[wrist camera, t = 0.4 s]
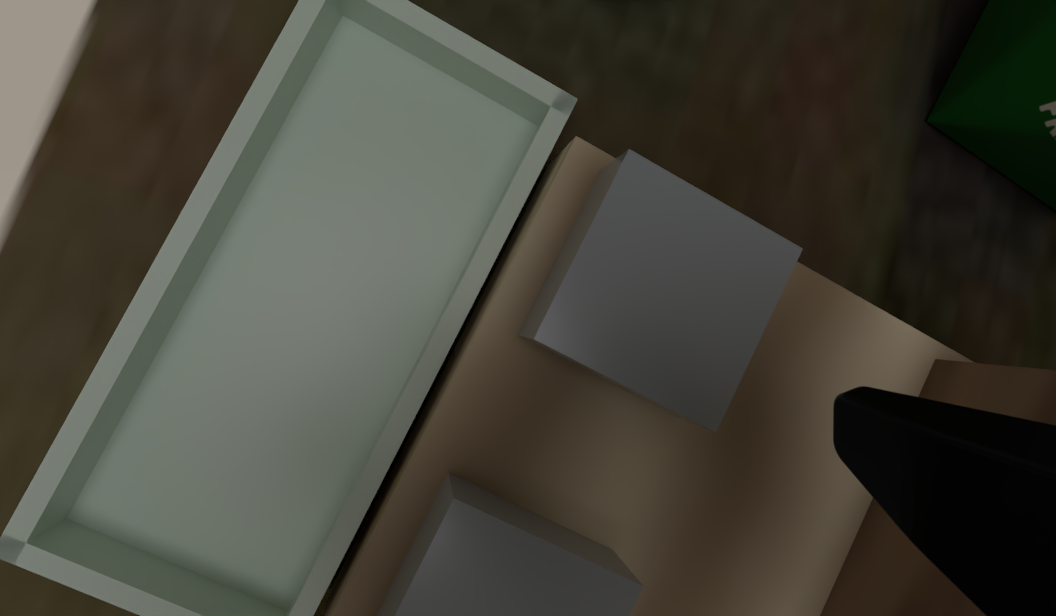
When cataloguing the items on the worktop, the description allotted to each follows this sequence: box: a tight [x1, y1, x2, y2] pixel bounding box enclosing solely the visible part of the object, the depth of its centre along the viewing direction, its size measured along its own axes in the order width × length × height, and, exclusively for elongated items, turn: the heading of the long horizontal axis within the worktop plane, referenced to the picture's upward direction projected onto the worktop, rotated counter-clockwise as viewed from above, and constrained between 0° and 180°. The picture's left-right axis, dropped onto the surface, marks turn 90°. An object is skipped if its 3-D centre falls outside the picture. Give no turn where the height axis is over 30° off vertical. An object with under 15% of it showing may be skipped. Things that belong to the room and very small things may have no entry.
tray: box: [0, 0, 578, 616], centre depth 20 cm, size 8×18×2 cm, turn 152°
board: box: [323, 136, 975, 616], centre depth 21 cm, size 17×15×4 cm
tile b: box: [517, 149, 803, 432], centre depth 18 cm, size 5×5×2 cm
